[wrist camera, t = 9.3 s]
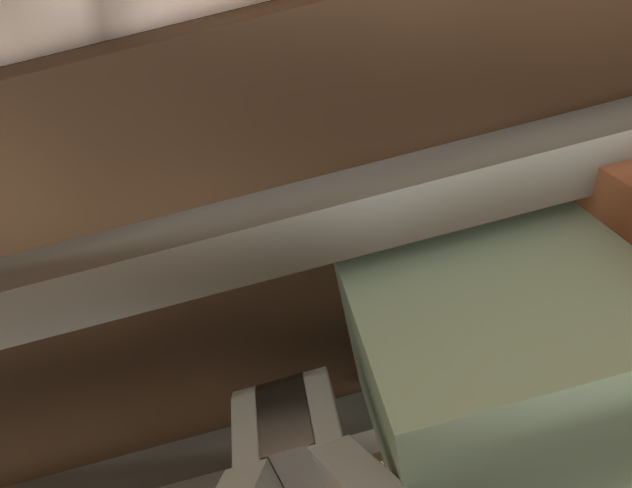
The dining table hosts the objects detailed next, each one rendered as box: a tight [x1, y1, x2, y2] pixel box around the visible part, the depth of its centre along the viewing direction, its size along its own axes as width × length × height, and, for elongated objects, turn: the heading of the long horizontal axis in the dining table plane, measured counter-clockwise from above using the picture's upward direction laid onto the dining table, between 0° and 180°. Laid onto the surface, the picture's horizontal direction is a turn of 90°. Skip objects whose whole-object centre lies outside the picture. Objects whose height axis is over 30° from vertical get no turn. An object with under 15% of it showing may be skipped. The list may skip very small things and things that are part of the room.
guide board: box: [0, 0, 632, 488], centre depth 10 cm, size 14×30×5 cm, turn 101°
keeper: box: [334, 201, 632, 488], centre depth 9 cm, size 5×5×4 cm
